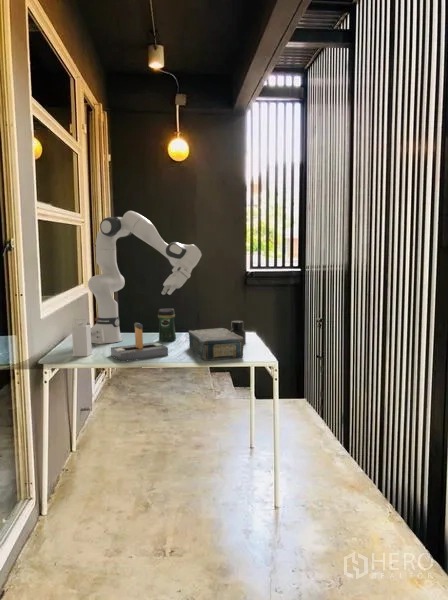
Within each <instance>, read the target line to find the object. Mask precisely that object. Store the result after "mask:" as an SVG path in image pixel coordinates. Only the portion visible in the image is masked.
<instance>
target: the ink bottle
mask: <svg viewBox="0 0 448 600" xmlns="http://www.w3.org/2000/svg"><path fill="white" fill-rule="evenodd" d="M230 323H231V324H230V325H231V329H230V330H229V331H230V332H234V333H235V334H237V335H238V336H241V337H243V339H244V341H243V344H245V343H246V342H247V341H246V340H247V339H246V337H247V335H246V333H247V332H246V330H245V329H244V326H245V325H244V321H243V320H231V322H230Z"/></svg>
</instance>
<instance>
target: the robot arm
mask: <svg viewBox="0 0 448 600" xmlns="http://www.w3.org/2000/svg"><path fill="white" fill-rule="evenodd" d="M99 228H100V230H99V231H98V232H97V234H96V239H95V257H96V260H95V261H96V264H97V265H98V266H99V268H100V270H101V274H96V275H94V276H92V277H90V278H89V280H88V282H87V286H88V290H89V291H90V292H91V293H92V294H93V295H94V297H95V300H96V303H97V312H98V313H97V314H98V317H97V318H96V317H95V319H94V321H96V323H95V324H94V325H92V326H91V344H98V345H102V344H103V345H104V344H112V343H113V344H114V343H118V342H121V341H123V339H122V336H121V330H120V317H119V304H118V301H116V300H115V299H114V296H113V293H115V292H116V293H117V292H118V291H120V290H122V289H123V288H124V287H125V285H126V284H125V282H126V281H125V277H124V276H123V275H122V274H121V272H120V270H119V267H118V263H117V245H116V244H117V240H118V239H121V240H122V239H124V238H126V237H129V236H131V235H132V234H133V235H134V236H135V237H137V238H138V239H140V240H142V241H143V242H145V243H146V244H148V245H149V246H151V247H152V248H153V249H155V250H156V251H157V252H159V253H160V254H161V255H163V257H164V258H166V259H167V260H168V262H169V264H170V265H171V267H172V269H171V271H172V273H171V274H169V276H168V277H167V278H166V279H165V281H164V282H163V283H162V286H163V289H162V291H161V294H162V295H163V296H164V295H166V294H168V295H169V296H170V295H172V293H173V292H174V291H175V290H176V289H180V288H181V287H183V285H184V284H185V283H186V282H187V280H188V279H190V278H191V274H192V271H193V269H194V268H195V267H196V266H197V265H198V263H199V261H200V259H201V258H202V256H203V254H202V251H201V249H199V247H198V246H197V245H195V244H192V243H191V244H185V243H180V242H177V241H173V242H170V243H169V244H168V243H167V242H165V240H164V239H163V237H161V235H160V234H159V232H158V230H157V228H156V227H155V225H154V224H153V223H152V222H151V221H150V220H149V219H148V218H146V217H145V216H143V215H142V214H140V213H139V212H136V211H133V210H128V211H126V212H125V213H124V214H123V216H115V217H114V216H109V217H104V218H103V219H102V220H101V221H100V224H99Z"/></svg>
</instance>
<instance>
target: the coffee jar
mask: <svg viewBox="0 0 448 600" xmlns="http://www.w3.org/2000/svg"><path fill="white" fill-rule="evenodd" d="M157 312H158V313H157V318H158V322H159V325H158V326H159V329H158V341H160V342H172V341H176V339H177V337H176V336H177V335H176V334H177V333H176V327H175V318H176V313H175V308H160V309H158V311H157Z"/></svg>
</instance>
